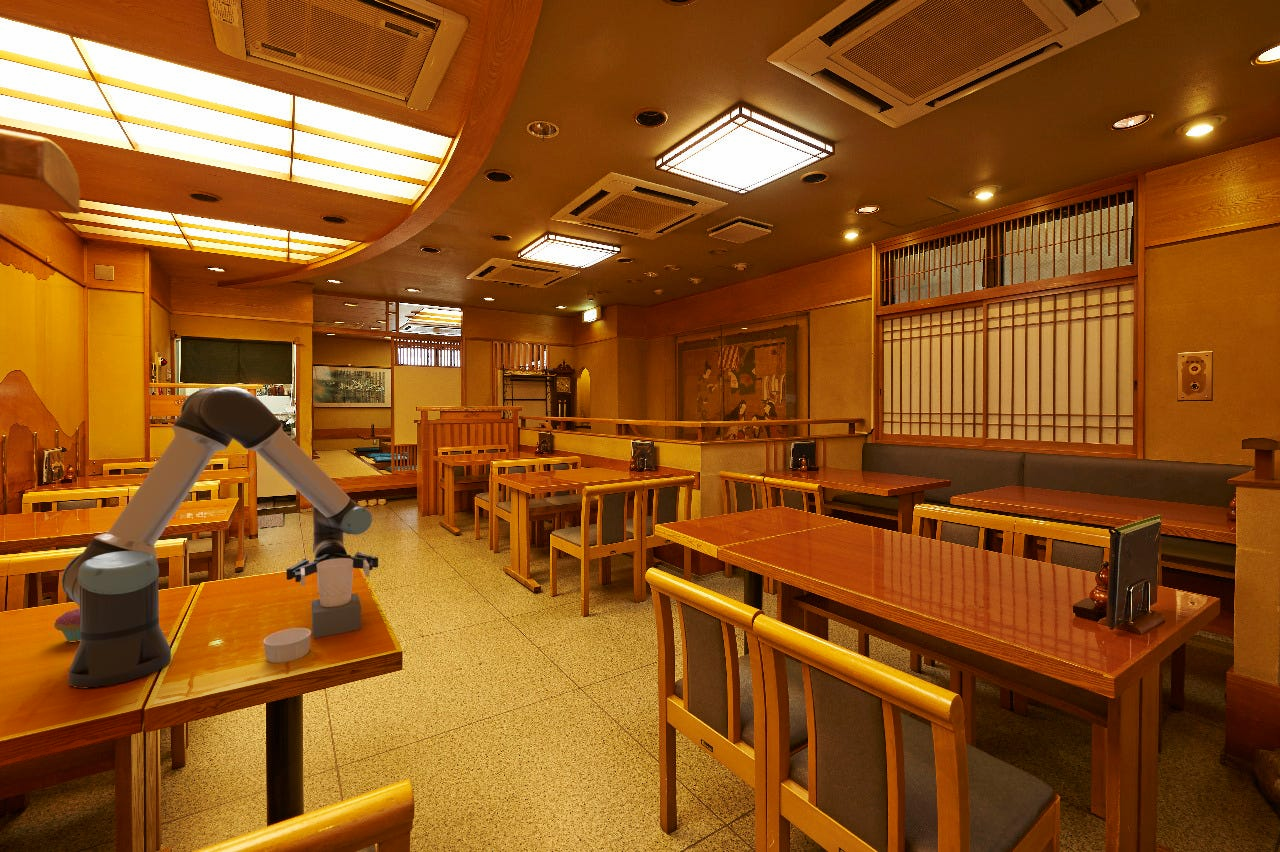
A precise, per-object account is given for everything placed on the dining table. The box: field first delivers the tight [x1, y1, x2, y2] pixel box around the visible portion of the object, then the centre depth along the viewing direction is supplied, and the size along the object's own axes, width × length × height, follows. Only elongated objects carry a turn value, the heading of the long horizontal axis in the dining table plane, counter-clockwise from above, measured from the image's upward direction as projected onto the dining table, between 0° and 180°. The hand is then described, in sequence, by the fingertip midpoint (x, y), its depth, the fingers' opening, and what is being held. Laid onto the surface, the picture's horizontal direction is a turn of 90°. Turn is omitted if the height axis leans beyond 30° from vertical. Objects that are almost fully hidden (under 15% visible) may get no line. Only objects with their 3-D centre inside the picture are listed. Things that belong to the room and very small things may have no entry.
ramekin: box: [262, 627, 313, 664], centre depth 118 cm, size 9×9×4 cm
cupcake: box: [53, 608, 81, 641], centre depth 126 cm, size 9×8×12 cm
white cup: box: [316, 558, 354, 607], centre depth 133 cm, size 8×8×10 cm
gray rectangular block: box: [311, 593, 362, 639], centre depth 133 cm, size 10×10×6 cm
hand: (336, 576), depth 130 cm, fingers open, 13 cm apart
